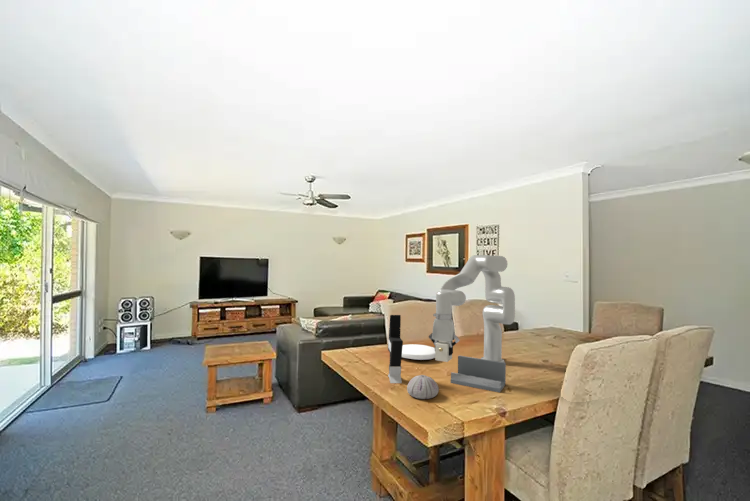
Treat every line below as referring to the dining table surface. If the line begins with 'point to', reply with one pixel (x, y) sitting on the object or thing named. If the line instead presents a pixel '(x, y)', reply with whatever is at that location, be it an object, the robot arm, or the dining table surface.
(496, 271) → the robot arm
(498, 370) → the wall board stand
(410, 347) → the plate
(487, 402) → the dining table surface
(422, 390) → the sea urchin shell
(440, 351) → the cabinet block
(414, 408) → the dining table surface
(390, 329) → the award
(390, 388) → the dining table surface
